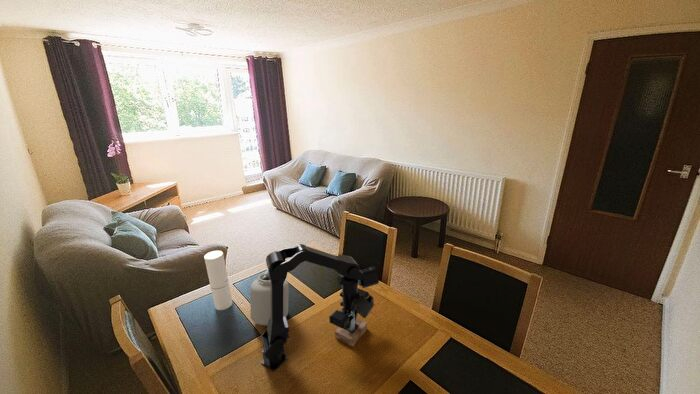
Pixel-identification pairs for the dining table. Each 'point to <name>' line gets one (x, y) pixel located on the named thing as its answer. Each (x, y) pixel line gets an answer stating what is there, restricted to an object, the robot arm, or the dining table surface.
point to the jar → (264, 299)
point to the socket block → (351, 337)
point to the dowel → (352, 324)
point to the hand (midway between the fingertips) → (351, 325)
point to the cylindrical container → (218, 279)
